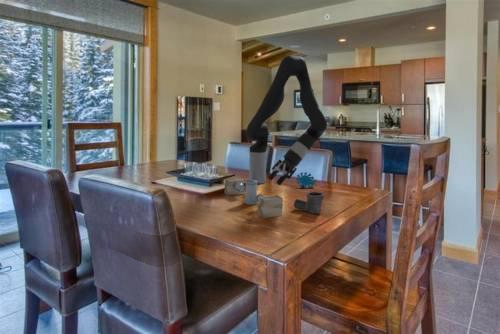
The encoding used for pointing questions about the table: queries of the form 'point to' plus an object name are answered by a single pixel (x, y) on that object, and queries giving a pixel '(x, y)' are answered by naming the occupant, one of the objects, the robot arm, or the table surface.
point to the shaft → (259, 196)
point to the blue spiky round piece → (305, 180)
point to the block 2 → (270, 206)
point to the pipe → (310, 203)
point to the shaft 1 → (238, 187)
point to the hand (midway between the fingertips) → (273, 181)
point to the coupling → (251, 192)
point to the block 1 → (229, 186)
